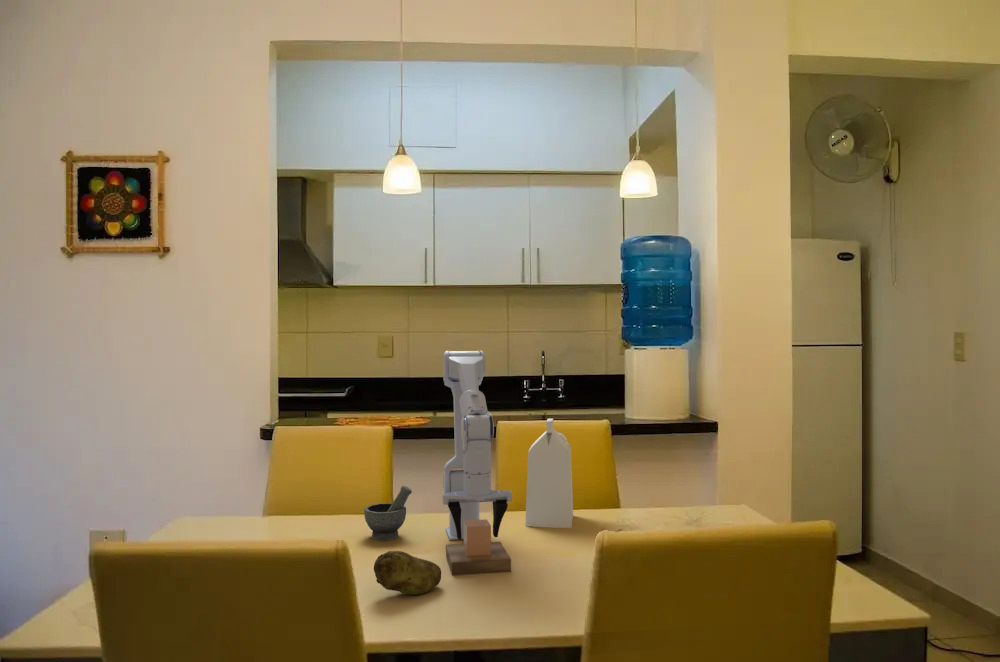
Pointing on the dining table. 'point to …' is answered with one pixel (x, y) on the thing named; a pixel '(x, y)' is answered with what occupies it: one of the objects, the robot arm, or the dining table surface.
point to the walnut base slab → (477, 560)
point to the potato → (406, 573)
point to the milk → (549, 481)
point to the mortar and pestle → (387, 516)
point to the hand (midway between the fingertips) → (477, 536)
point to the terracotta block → (477, 537)
